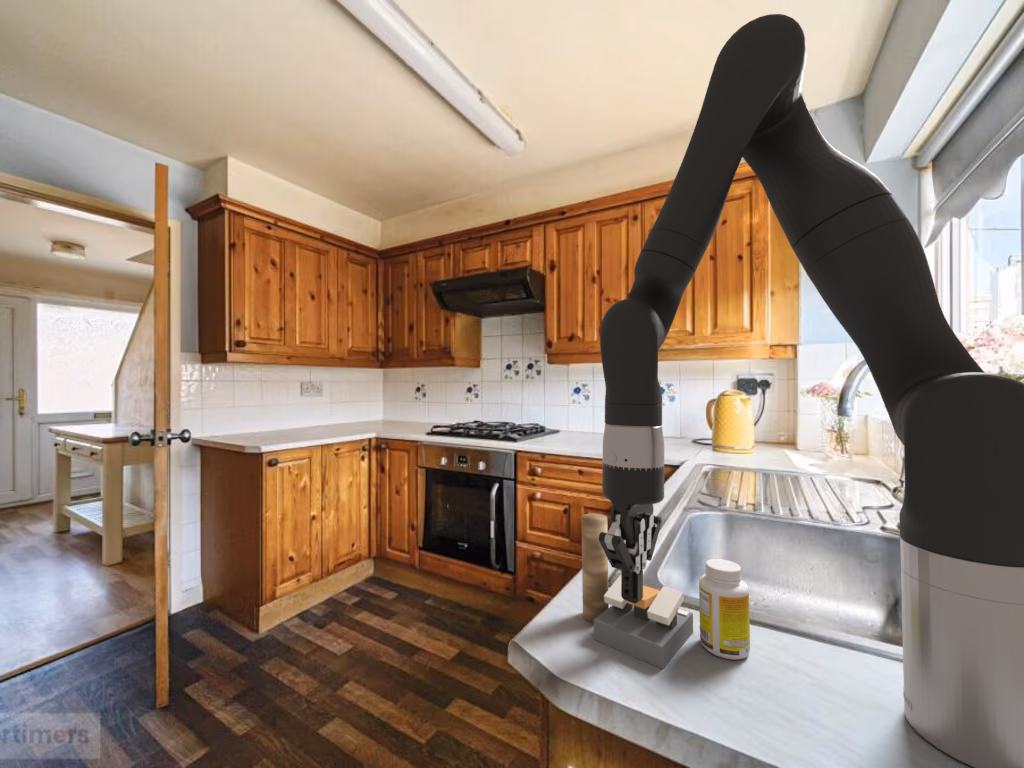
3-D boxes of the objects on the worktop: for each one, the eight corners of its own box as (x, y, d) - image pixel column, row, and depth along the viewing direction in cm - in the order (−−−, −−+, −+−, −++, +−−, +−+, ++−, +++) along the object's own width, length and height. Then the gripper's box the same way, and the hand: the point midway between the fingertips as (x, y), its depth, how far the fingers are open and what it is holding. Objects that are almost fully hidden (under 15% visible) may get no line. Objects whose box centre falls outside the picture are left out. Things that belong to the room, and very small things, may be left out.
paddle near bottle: (684, 602, 55) (683, 592, 54) (669, 628, 51) (668, 618, 51) (664, 595, 56) (663, 586, 56) (648, 621, 53) (647, 611, 52)
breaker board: (693, 632, 56) (692, 602, 56) (662, 669, 49) (662, 634, 49) (629, 609, 62) (629, 582, 62) (593, 639, 55) (593, 608, 55)
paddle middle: (661, 602, 57) (661, 591, 57) (644, 612, 53) (644, 600, 53) (642, 596, 58) (643, 585, 59) (625, 606, 55) (625, 594, 55)
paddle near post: (640, 588, 59) (639, 578, 58) (623, 612, 55) (621, 602, 55) (623, 582, 60) (621, 573, 60) (605, 605, 57) (603, 595, 56)
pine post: (613, 615, 60) (611, 516, 61) (600, 626, 58) (599, 522, 58) (591, 607, 63) (590, 512, 63) (577, 617, 60) (576, 517, 61)
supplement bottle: (757, 649, 52) (756, 565, 53) (738, 668, 49) (736, 578, 49) (712, 630, 57) (711, 552, 57) (691, 646, 53) (690, 563, 53)
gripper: (637, 471, 47) (636, 632, 46) (682, 458, 56) (681, 591, 56) (578, 463, 52) (577, 608, 51) (629, 452, 61) (628, 574, 61)
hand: (632, 599), depth 54 cm, fingers closed
